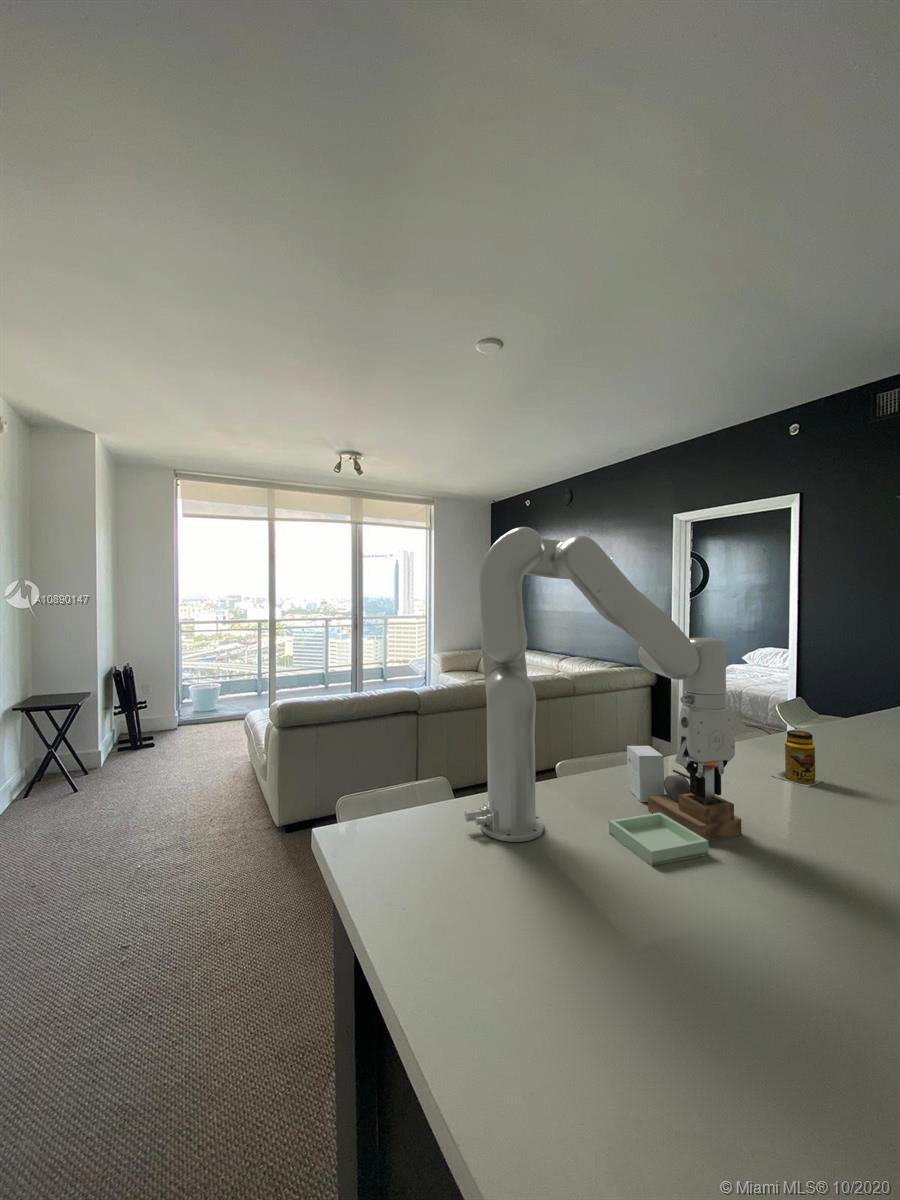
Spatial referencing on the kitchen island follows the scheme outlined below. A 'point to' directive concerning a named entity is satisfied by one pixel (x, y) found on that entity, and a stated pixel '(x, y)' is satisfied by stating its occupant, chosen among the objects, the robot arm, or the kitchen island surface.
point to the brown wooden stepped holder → (695, 810)
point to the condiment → (799, 759)
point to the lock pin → (708, 783)
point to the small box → (645, 772)
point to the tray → (658, 838)
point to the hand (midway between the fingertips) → (705, 793)
